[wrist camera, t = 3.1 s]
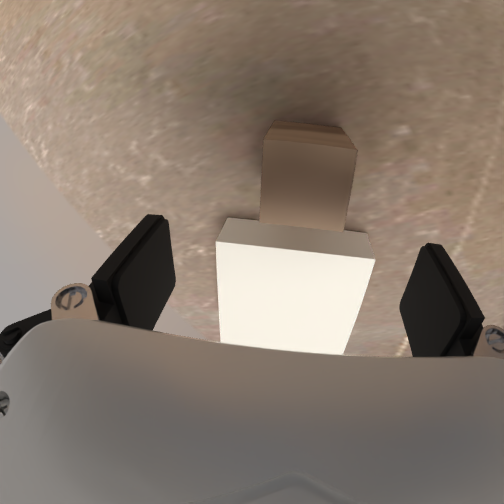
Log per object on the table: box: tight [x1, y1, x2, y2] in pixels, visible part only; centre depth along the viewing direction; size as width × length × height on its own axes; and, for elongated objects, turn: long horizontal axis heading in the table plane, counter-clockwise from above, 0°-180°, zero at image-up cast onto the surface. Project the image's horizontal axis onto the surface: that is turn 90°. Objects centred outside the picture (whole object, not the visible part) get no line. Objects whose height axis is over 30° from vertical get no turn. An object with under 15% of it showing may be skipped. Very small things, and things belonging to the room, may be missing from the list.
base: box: [216, 218, 375, 354], centre depth 27 cm, size 12×12×4 cm
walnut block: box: [259, 121, 357, 232], centre depth 19 cm, size 5×5×7 cm
